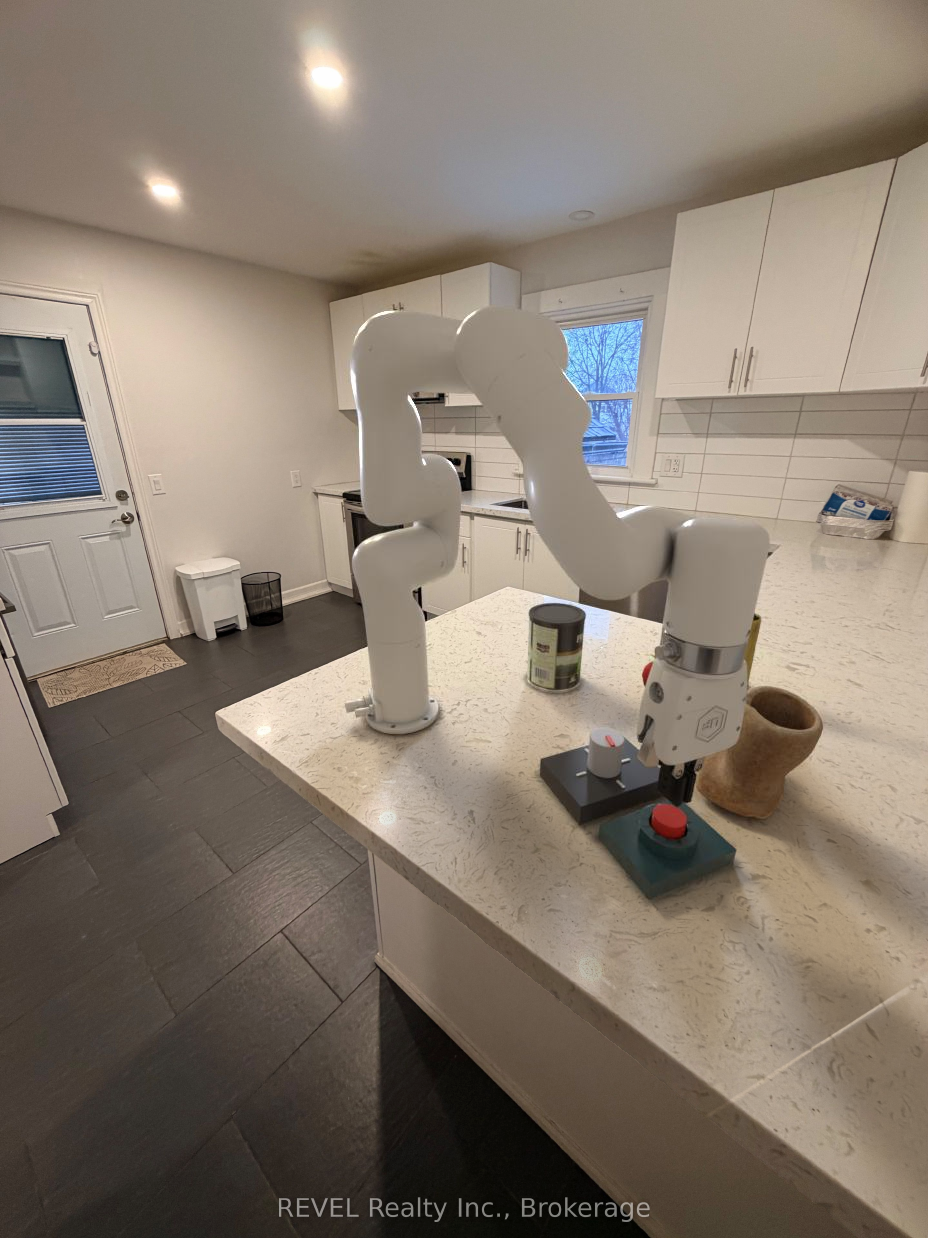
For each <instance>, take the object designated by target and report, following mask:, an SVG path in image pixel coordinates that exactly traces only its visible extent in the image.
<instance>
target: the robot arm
mask: <svg viewBox="0 0 928 1238" xmlns="http://www.w3.org/2000/svg"><path fill="white" fill-rule="evenodd" d="M569 357H570V351H569V345H568V339H567V338H566V336H565V334H564V331H563V330H562V329H561V327H560V325H559V324H558V323H556V321H554V320H553V319H551V318H550V317H548V316H546V315H544V314H541V313H538V312H533V311H529V310H524V309H519V308H515V307H512V306H507V305H501V304H499V305H498V304H494V305H487V306H484V307H483V306H482V307H480V308H479V309H478V308H477V309H476V310H474V311H473V312H471V313H470V314H469V315H468V316H466V317H465V319H464V320H462V319H456V318H451V317H445V316H439V315H435V314H431V313H426V312H422V311H421V312H420V311H414V310H402V309H401V310H399V309H398V310H388V311H382V312H379V313H377V314H374V315H372V316H370V317H369V318H368V319H367V320H365V321H364V323H363V324H362V325H361V326H360V328H359V329H358V331H357V333H356V335H355V337H354V339H353V342H352V346H351V352H350V358H349V375H350V383H351V389H352V395H353V398H354V404H355V407H356V414H357V420H358V421H357V423H358V453H359V454H358V455H359V486H360V500H361V506H362V510H363V513H364V515H365V517H366V518H367V520H369V522H370V523H373V524H374V525H377V526H379V527H394V526H400V525H405V524H411V523H413V526H408V527H405V528H398V529H394V530H390V531H386V532H382V533H378V534H374V535H372V536H370V537H368V538H366V539H365V540H363V541H362V542H360V544H359V545H357V547H355V550H354V552H353V554H352V557H351V566H352V568H351V569H352V573H353V577H354V580H355V583H356V587H357V588H358V593H359V596H360V601H361V605H362V611H363V615H364V616H363V618H364V625H365V635H366V645H367V652H368V662H369V671H370V680H371V681H370V682H371V688H368V689H367V691H368V693H367V694H366V695H364V696H362V698H358V699H351V700H347V701H344V707H345V711H346V714H348V713H353V712H354V714H355V715H354V716H355V718H356V719H357V718H360V717H361V718H362V717H365V721H366V723H367V725H369V726H370V728H372V729H373V730H375V731H378V732H381V733H384V734H390V735H405V734H411V733H415V732H418V731H421V730H424V729H425V728H427V727H429V726H430V725H431V724H432V723H435V721H436V720H437V718H438V717H439V712H440V707H439V706H440V705H439V702H438V700H437V699H436V698H435V697H434V696H433V695H431V694H430V687H429V668H428V648H427V647H428V646H427V629H426V619H425V613H424V611H423V609H422V608H421V606H420V605H419V603H418V602H417V600H416V599H415V597H414V594H413V591H415V590H418V589H419V588H421V587H424V586H427V585H429V584H433V583H436V582H438V581H440V580H442V579H444V578H446V577H448V575H450V574H451V573H452V572H453V570H454V568H455V566H456V565H457V560H458V555H459V546H460V531H461V530H460V529H461V528H460V527H461V513H462V495H463V494H462V486H461V481H460V477H459V474H458V472H457V470H456V468H455V466H454V464H453V463H452V462H451V461H450V460H448V459H447V458H446V457H444V456H442V455H441V454H437V453H423V452H422V448H423V446H422V444H423V428H422V422H421V418H420V415H419V412H418V410H417V407H416V404H415V403H414V401H413V400H412V398H411V396H410V395H411V394H412V393H429V394H455V395H456V394H457V395H459V394H460V395H461V394H462V395H474V396H475V397H476V399H477V400H478V401H479V403H480V405H482V407H483V408H484V410H485V411H486V412H487V414H488V415H489V417H490V418H491V420H492V421H493V422H494V424H495V425H496V427H497V428H498V429H499V431H500V432H501V434H502V435H503V437H504V438H505V440H506V441H507V442H508V444H509V445H510V446H511V448H512V449H513V451H514V453H515V454H516V455H517V457H518V459H519V460H520V462H521V464H522V479H523V488H524V494H525V500H526V504H527V509H528V511H529V515H530V519H531V522H532V524H533V526H534V528H535V530H536V532H537V534H538V536H539V537H540V539H541V541H542V542H543V543H544V545H545V547H546V548H547V550H548V551H549V552H550V554H551V555H552V557H553V558H554V559H555V561H556V562H557V563H558V565H559V566H560V568H561V569H562V570H563V572H564V573H565V574H566V576H567V577H568V578H569V579H570V580H571V581H572V582H573V584H575V585H576V586H577V587H578V588H579V589H580V590H581V591H583V592H584V593H586V594H587V595H589V596H591V597H593V598H596V599H598V600H602V601H618V600H622V599H625V598H628V597H630V596H632V595H634V594H636V593H638V592H639V591H640V590H642V589H644V588H645V587H647V586H648V585H650V584H652V583H656V582H661V581H666V582H667V583H668V587H667V593H666V598H665V599H666V600H665V606H664V612H663V618H662V620H663V621H662V625H661V633H660V639H659V645H657V646H655V648H654V650H653V651H654V655H655V656H656V657H657V658H656V659H655V658H654V660H653V661H654V663H653V665H652V668H651V670H650V673H649V676H648V679H647V683H646V686H644V690H643V694H642V698H641V702H640V706H639V712H638V717H637V723H636V724H637V725H636V726H637V727H636V740H637V742H638V743H640V744H641V745H640V748H639V749H638V750H639V753H638V755H637V759H638V760H639V761H640V762H641V763H642V764H643V765H644V766H645V767H657V766H658V767H659V768H660V772H659V778H658V784H657V789H658V791H659V792H660V793H661V794H662V795H663V796H662V797H664V798H665V799H667V800H669V801H670V802H671V803H672V804H673V805H674V806H676V807H678V806H681V805H682V802H684V803H685V804H689V803H691V802H692V801H693V800H692V799H693V795H694V789H695V785H696V777H697V774H698V772H699V771H700V770H701V769H702V768H703V765H704V762H705V759H706V756H708V755H711V754H714V753H717V752H720V751H722V750H725V749H728V748H730V747H732V746H733V745H734V744H736V742H737V741H738V738H739V735H740V731H741V726H742V721H743V716H744V710H745V703H746V694H747V663H746V661H745V660H744V657H745V653H746V648H747V644H748V639H749V635H750V630H751V626H752V621H753V617H754V613H756V608H757V604H758V598H759V595H760V590H761V585H762V582H763V577H764V572H765V568H766V563H767V559H768V555H769V552H770V551H769V550H770V544H771V540H770V539H771V538H770V533H769V532H768V530H767V528H765V527H764V526H762V525H761V524H759V523H756V522H754V521H750V520H746V519H741V518H733V517H732V518H731V517H722V516H721V517H720V516H719V517H716V516H714V517H713V516H710V517H709V516H708V517H702V516H697V515H693V514H689V513H685V512H681V511H678V510H675V509H670V508H666V507H661V506H656V505H644V506H643V505H642V506H637V507H633V508H632V509H629V510H625V511H622V512H618V513H617V512H616V511H615V509H614V508H613V506H612V505H611V503H609V501H608V500H607V499H606V497H605V495H604V494H603V493H602V491H601V490H600V488H599V487H598V485H597V484H596V482H595V481H594V479H593V477H592V474H591V473H590V471H589V469H588V466H587V464H586V461H585V456H584V449H583V444H584V443H583V441H584V436H585V434H586V433H587V431H588V430H589V428H590V424H591V421H592V410H591V407H590V405H589V403H588V402H587V401H586V399H585V398H584V396H582V394H581V393H580V392H579V391H578V389H577V388H576V386H575V385H574V384H573V382H571V380H570V379H569V378H568V376H567V375H566V373H567V369H568V366H569V359H570V358H569Z"/></svg>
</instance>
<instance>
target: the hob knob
mask: <svg viewBox="0 0 928 1238" xmlns="http://www.w3.org/2000/svg"><path fill="white" fill-rule="evenodd" d="M588 745H589V750H588V761H587V767H588V769H589V770H590V772H592V773H593V774H594V775H596V776H599V777H603V778H612V777H615V776H617V775H618V774H619V773H620V770H621V762H622V755H623V747H624V735H623V734H622V733H621V732H620V731H618V730H616V729H614V728H611V727H604V726H603V727H596V728H593V729H592V730H591V731H590V733H589V740H588Z"/></svg>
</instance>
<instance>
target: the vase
mask: <svg viewBox="0 0 928 1238" xmlns="http://www.w3.org/2000/svg"><path fill="white" fill-rule="evenodd" d="M762 619H763V618H762V616H761V615H759V613H756V612H754V617H753V621H752V626H751V630H750V635H749V639H748V644H747V648H746V653H745V657H744V660H745V661H746V663H747V690H748V689H749V687H750V686H749V683H750V676H751V671H752V667H753V663H754V658H755V653H756V647H757V642H758V637H759V633H760V630H761V624H762Z"/></svg>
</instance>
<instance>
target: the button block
mask: <svg viewBox="0 0 928 1238" xmlns="http://www.w3.org/2000/svg"><path fill="white" fill-rule="evenodd" d="M660 804H668V805H672V806H674V805H673V804H672V803H671V802H670V801H669V800H668V799H667V800H665V801H662V802H659V803H652V804H649V805H646V806H644V807H642V808H641V809H639V810H636V811H633V812H630V813H627V814H624V815H622V816H619V817H616V818H613V819H611V820H608V821H604V822H602V823H599V825H598V834H597V838H598V839H599V841H600V842H601V843H602V844H603V846H604V847H605V848H606V849H607V851H608V852H609V853H610V854H611V855H612V857H613V858H614V859H615V860H616V862H617V863H618V864H619V865H620V867H622V869H623V870H624V872H625V873H626V874H627V875H628V876H629V878H630V879H631V880H632V881H633V882H634V884H635V885H636V886H637V888H638V889H639V890H640V891H641V892H642V893H643V895H644V896H645V897H646V899H648V900H651V899H653V898H655V897H658V896H661V895H663V894H665V893H668V892H670V891H672V890H675V889H677V888H679V887H681V886H684V885H686V884H688V883H691V882H693V881H696V880H698V879H700V878H703V877H705V876H707V875H710V874H713V873H714V872H717V871H719V870H721V869H724V868H726V867H729V866H731V865H733V864H734V861H735V857H736V854H737V848H736V847H734V845H733V844H731V843H730V842H729V841H728V840H727V839H725V837H724V836H722V835H721V834H720V833H719V832H718V831H717V830H715V828H714V827H713V826H711V825H710V824H709V823H708V822H706V821H705V819H703V818H702V817H701V816H700V815H699V814H698V813H697V812H695V811H694V810H693V809H692V808H691V807H690V806H689V805H688V804H687V803H684V802H682V805H681V806H678V807H677V808H679V809H680V810H681V811H682V812H683V813H684V814H685V815H686V818H687V823H686V828H685V833H684V835H683V836H682V837H681V838H679V839H668V838H665V837H663V836H661V835H659V834H657V833H656V832H655V831H654V829H653V828H652V825H651V820H652V814H653V809H654V808H655V807H656V806H657V805H660ZM675 807H676V806H675Z"/></svg>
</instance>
